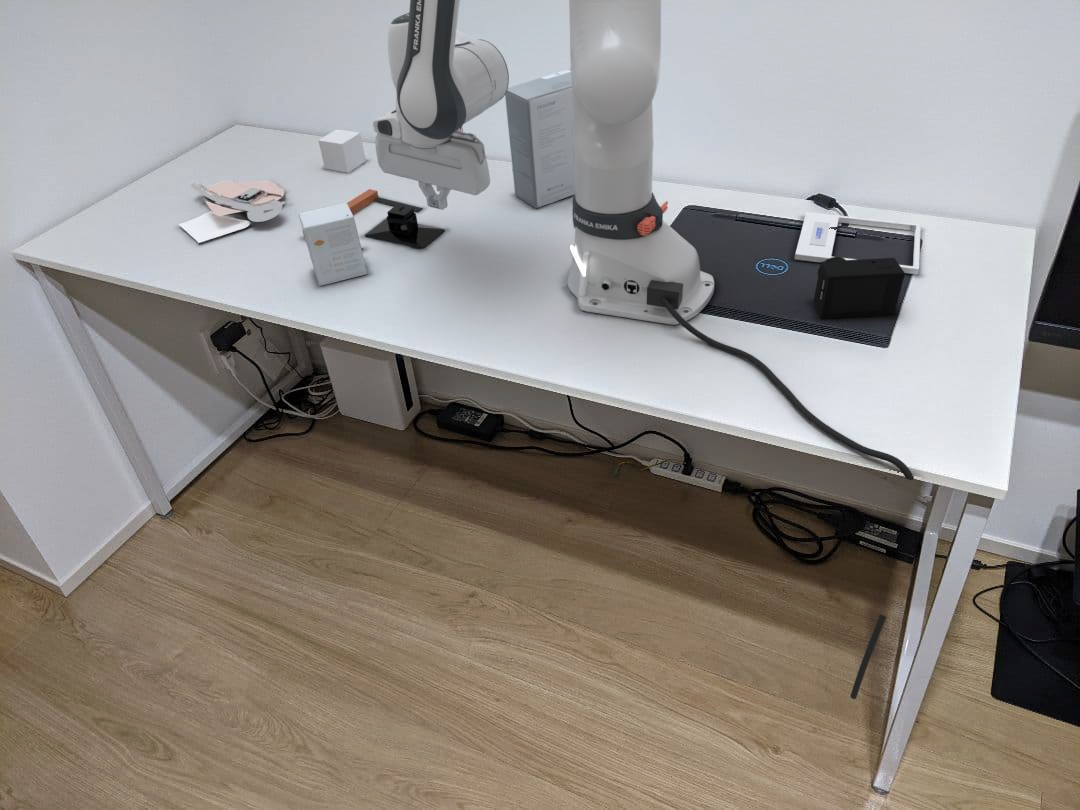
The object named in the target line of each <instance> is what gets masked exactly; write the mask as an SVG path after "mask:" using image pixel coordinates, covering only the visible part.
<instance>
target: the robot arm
mask: <svg viewBox="0 0 1080 810" xmlns="http://www.w3.org/2000/svg"><path fill="white" fill-rule="evenodd" d="M460 3H461V0H409V12H407V13H404V14H402V15H399V16H397V17H396V18H394V19H393V20H392V21H391V23H390V24H389V27H388V32H387V52H388V63H389V69H390V76H391V77H390V78H391V81H392V83H393V85H394V88H395V92H396V93H395V94H396V97H395V98H396V99H395V108H394V109H392V110H390V111H387V112H385V113H384V114H381V115H380V116H378V117H377V118H375V119H374V120H373V121H372V127H373V130H374V132H375V133H376V135H375V139H374V145H375V153H376V159H377V164H378V166H379V168H380V169H381V171H382V172H383V173H384V174H387V175H393V176H397V177H399V178H405V179H408V180H413V181H416V182H418V187H419V189H420V191H421V192H422V194H423V195H424V197H425V198H426V205H427V207H430V208H434V209H437V210H441V211H442V210H443V211H444V210H445V209H446V208H447V207H448V196H449V194H450V192H451V190H452V191H456V192H460V193H464V194H468V195H472V196H478V195H480V194H481V193H483V192H484V191H486V190H487V189H488V188H489V186H490V185H491V175H490V169H489V165H488V164H489V163H488V160H487V159H488V158H487V156H486V149H485V144H484V143H483V142H482V141H481V139H480V138H478V137H477V135H476V134H474V133H471V132H465V131H463V132H462V131H458V129H459V128H460V127H461V126H462V127H463V126H464V124H466V123H468V122H470V121H472V120H473V119H475V118H476V117H478V116H479V115H481V114H483V113H484V112H485V111H487V110H489V109H490V108H491V107H493V106H495V105H496V104H498V102H500V101H501V100H502V99H503V98H505V94H506V92H507V89H508V88H509V83H510V75H509V68H508V64H507V62H506V60H505V58H504V56H503V54H502V53H501V51H500V50H499V49H498V48H497V46H495V45H494V44H492V43H491V42H489V41H488V40H486V39H481V38H480V39H479V38H477V37H473V36H471V35H469V34H467V33H465V32H463V31H461V30H459V29H458V21H459V10H460ZM568 5H569V6H568V8H569V9H568V10H569V44H570V45H569V52H570V53H569V58H570V59H569V60H570V69H571V82H572V109H573V146H574V176H575V194H574V195H572V223H573V224H572V225H573V228H574V231H575V232H574V245H573V244H571V245H570V251H571V254H572V259H571V260H572V261H571V265H570V270H569V273H568V277H567V280H566V281H567V283H566V284H567V287H568V289H569V291H570V292H571V293H572V294H573V296H575V298H576V299H577V305H578V308H579V309H580V310H581V311H583V312H587V313H594V314H601V315H606V316H613V317H619V318H626V319H627V318H628V319H633V320H639V321H646V322H651V323H658V324H666V325H675V326H676V325H679V324H680V326H682V327H683V328H684V329H686V331H688V332H689V333H691V335H693V336H695V337H696V338H698V339H699V340H701V341H702V342H704V343H706V344H708V345H709V346H712V347H714V348H716V349H719V350H721V351H724V352H727V353H731V354H732V355H733V354H734V355H736V356H738V357H740V358H743V359H745V360H746V361H748V362H750V363H751V364H752V365H754V366H755V367H757V368H758V369H759V370H760V371H761V372H762V373H763V374H764V375H765V376H766V377H767V378H768V379H769V381H771V382H772V383H773V384H774V385H775V386H776V387H777V389H779V391H781V393H782V394H783V395H784V396H785V397H786V398H787V399H788V400H789V402H790V403H791V404H792V405H793V407H795V408H796V410H797V411H798V412H799V413H800V414H801V415H802V416H803V417H805V418H806V419H807V420H808V421H809V422H810V423H812V424H813V425H814V426H815V427H816V428H818V429H819V430H821V431H822V432H824V433H825V434H827V435H829V437H832V438H833V439H835V440H836V441H838V442H840V443H842V444H843V445H845V446H847V447H849V448H851V449H852V450H854V451H856V452H858V453H860V454H863V455H864V456H865V455H866V456H868V457H872V458H875V459H879V460H881V461H885V462H888V463H890V464H892V465H893V466H895V467H896V468H898V469H899V471H900V472H901V473H902V475H903V476H904V478H906V479H907V480H908V481H914V479H915V478H914V475H913V473H912V471H911V470H910V468H909V466H907V465H906V464H905V462H903V461H902V460H901V459H900V458H898V457H896V456H894V455H892V454H890V453H886V452H883V451H880V450H877V449H873V448H869V447H866V446H865V445H862V444H860V443H859V442H856V441H855V440H853V439H851V438H849V437H847V436H845V435H843V434H842V433H840V432H839V431H837V430H835V429H834V428H832V427H831V426H829V425H828V424H826V423H825V422H824V421H822V420H821V419H819V418H818V417H817V416H816V415H814V414H813V412H811V411H809V409H808V408H807V407H805V406H804V405H803V404H802V402H801V401H800V399H798V398H797V397H796V395H795V394H794V393H793V392H792V391H791V390H790V389H789V387H788V386H786V384H785V383H784V382H782V381H781V380H780V378H779V377H778V376H777V375H776V374H775V373H774V372H773V371H772V370H771V369H770V368H769V367H768V366H767V365H766V364H765V363H763V362H762V361H761V360H760V359H758V358H757V357H756V356H754V355H752V354H751V353H749V352H747V351H744V350H742V349H739V348H738V347H737V348H736V347H734V346H730V345H727V344H725V343H722V342H719V341H717V340H715V339H713V338H712V337H709V336H707V335H706V334H704V333H703V332H702V331H700V330H698V329H697V328H695V327H694V326H693V325H691V323H689V322H688V321H689V320H691V319H693V318H694V317H695V316H697V315H698V314H699V313H701V312H702V311H703V310H704V309H705V308H706V306H707V305H708V304H709V302H710V301H711V299H712V297H713V296H714V293H715V279H714V276H713V275H712V274H709V273H707V272H705V271H702V270H701V263H700V257H699V254H698V251H697V249H696V248H695V246H693V245H692V244H691V243H690V242H689V241H688V240H687V239H685V238H684V237H683V236H682V235H680V234H679V233H678V232H677V231H676V230H675V229H674V228H672V227H671V226H670V225H669V224H668V223H667V222H666V221H665V220H664V219H663V218H664V213H665V212H666V211H667V210H668V209H669V207H668V204H669V201H668V200H666V201H665V202H664V203H662V205H660V204H659V203H658V200H657V198H656V196H655V194H654V192H653V173H654V172H653V171H654V117H653V115H654V114H653V113H654V112H653V100H654V98H655V95H656V92H657V90H658V86H659V83H660V76H661V49H662V46H661V45H662V43H661V42H662V33H661V32H662V0H568ZM433 186H435V187H436V191H435V189H434V187H433ZM437 192H439V193H437ZM886 620H887V616H886V615H884V614H881V613H880V614H879V616H878V618H877V620H876V623H875V626H874V628H873V631H872V633H871V637H870V638H869V641H868V644H867V647H866V649H865V651H864V655H863V657H862V661H861V663H860V665H859V668H858V671H857V674H856V677H855V680H854V682H853V685H852V689H851V692H850V698H851V699H852V700H856V699H857V697H858V694H859V691H860V688H861V686H862V682H863V680H864V676H865V673H866V671H867V668H868V667H869V666H868V665H869V663H870V660H871V658H872V656H873V653H874V650H875V647H876V645H877V642H878V640H879V637H880V635H881V632H882V631H883V627H884V625H885V622H886Z"/></svg>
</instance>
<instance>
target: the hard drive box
mask: <svg viewBox="0 0 1080 810" xmlns="http://www.w3.org/2000/svg"><path fill="white" fill-rule="evenodd" d="M504 99H505V109H506V120H507V128H508V139H509V148H510V149H509V150H510V158H511V159H510V160H511V168H512V179H513V188H514V196H515V197H517V198H519V199H520V200H522V201H523V202H525V203H526V204H528V205H530V206H531V207H532V208H534V209H538V208H540V207H544V206H547V205H550V204H553V203H556V202H559V201H560V200H563V199H566V198H569V197H573V196H574V194H575V176H574V146H573V109H572V82H571V68H568V69H564V70H561V71H559V72H555V73H552V74H547V75H544V76H541V77H538V78H535V79H532V80H529V81H525V82H523V83H519V84H516V85H512V86H510V87H509V86H508V89H507V92H506V94H505V96H504Z"/></svg>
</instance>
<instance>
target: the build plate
mask: <svg viewBox="0 0 1080 810" xmlns="http://www.w3.org/2000/svg"><path fill="white" fill-rule="evenodd" d="M386 213H387V216H386V218H384V219H383V220H382V221H381V222H379V223H378V224H377V225H375V226H374V227H373V228H371V229H370V230H369V231H367V232H366V233H365V234H364V237H365V238H368V239H372V240H376V241H377V240H378V241H382V242H387V243H391V244H396V245H401V246H405V247H410V248H411V249H413V250H414V249H415V250H425V249H426V248H427V247H428V246H429V245H431V244H432V243H433V242H434V241H435V240H437V239H438V238H439V237H440V236H441V235H442V234H444V233H445V232H446V230H445V228H440V227H437V226H436V227H435V226H431V225H426V224H421V223H418V217H417V212H414V208H410V207H406V208H404V206H400V205H396V206H395V207H394V206H392V208H390V209H389V210H388V211H386Z"/></svg>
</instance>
